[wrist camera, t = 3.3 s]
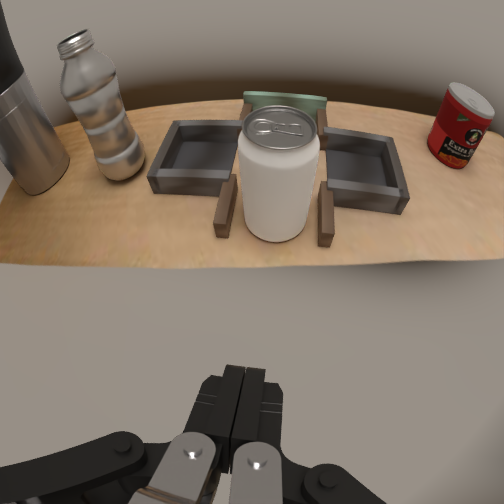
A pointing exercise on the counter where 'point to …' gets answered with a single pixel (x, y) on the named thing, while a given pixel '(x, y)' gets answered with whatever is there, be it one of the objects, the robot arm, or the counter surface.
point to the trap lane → (331, 139)
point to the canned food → (459, 125)
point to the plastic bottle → (99, 106)
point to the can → (277, 170)
